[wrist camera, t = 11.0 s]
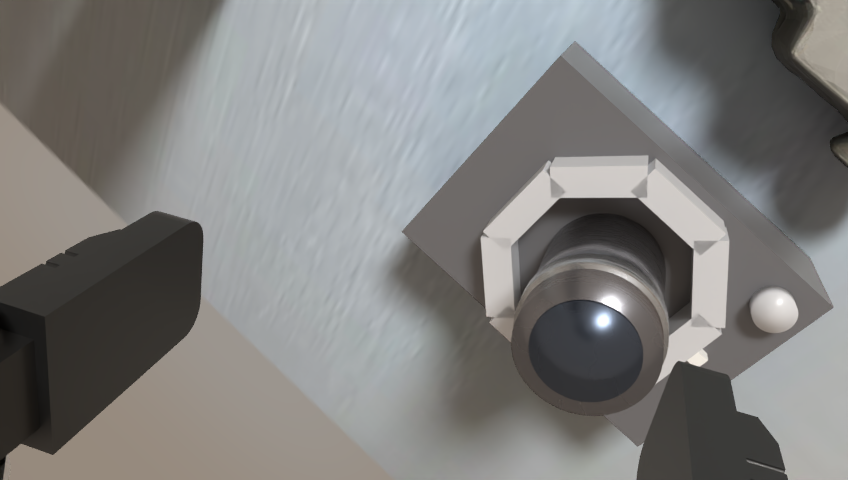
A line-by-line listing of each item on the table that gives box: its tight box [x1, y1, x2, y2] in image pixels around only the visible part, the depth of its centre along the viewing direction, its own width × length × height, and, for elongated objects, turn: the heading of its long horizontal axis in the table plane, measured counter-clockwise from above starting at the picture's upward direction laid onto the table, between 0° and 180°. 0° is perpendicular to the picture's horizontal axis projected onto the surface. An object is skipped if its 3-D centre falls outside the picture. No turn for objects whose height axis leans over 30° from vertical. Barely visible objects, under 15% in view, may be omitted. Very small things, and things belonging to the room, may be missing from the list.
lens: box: [511, 213, 669, 416], centre depth 27 cm, size 5×5×7 cm
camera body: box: [402, 41, 833, 446], centre depth 31 cm, size 14×10×6 cm
